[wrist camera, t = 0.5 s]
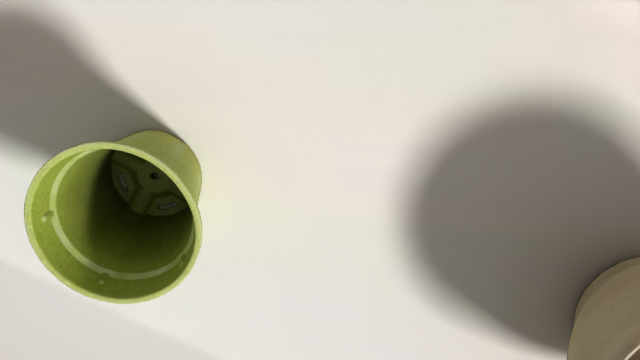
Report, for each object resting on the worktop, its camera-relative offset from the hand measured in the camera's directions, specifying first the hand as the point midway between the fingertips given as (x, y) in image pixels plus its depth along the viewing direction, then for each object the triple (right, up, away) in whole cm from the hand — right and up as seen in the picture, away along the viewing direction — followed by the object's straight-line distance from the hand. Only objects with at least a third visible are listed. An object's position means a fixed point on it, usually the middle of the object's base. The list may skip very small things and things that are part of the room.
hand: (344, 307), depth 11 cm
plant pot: (-11, +3, +29) cm, 31 cm away
